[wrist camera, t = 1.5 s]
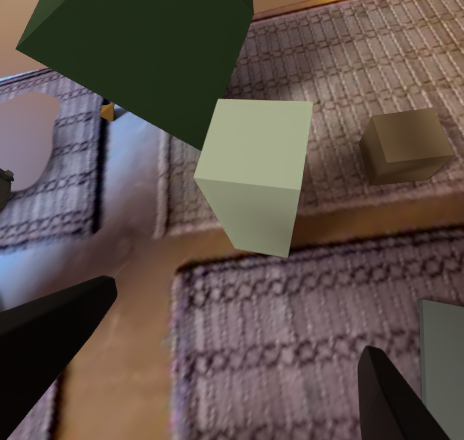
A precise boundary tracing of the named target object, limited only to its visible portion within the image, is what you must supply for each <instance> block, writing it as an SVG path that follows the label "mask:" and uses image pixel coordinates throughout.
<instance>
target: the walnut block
mask: <svg viewBox="0 0 464 440" xmlns="http://www.w3.org/2000/svg"><path fill="white" fill-rule="evenodd" d="M359 147H360V150H361V154H362V158H363V161H364V165H365V168H366V172H367V175H368V179H369V183H370V186H374V185H383V184H393V183H403V182H412V181H422V180H428V179H429V178H430V177H431V176H432V175H433V174H434V173H435V172H436V171H437V170H439V169H440V168H441V167H442V166H443V165H444V164H445V163H446V162H447V161H448V160H450V159H451V158H452V157H453V156H454V152H453V150H452V148H451V146H450V144H449V141H448V139H447V137H446V135H445V133H444V130H443V128H442V126H441V124H440V122H439V119H438V117H437V115H436V113H435V111H434V108H426V109H419V110H412V111H405V112H398V113H391V114H384V115H377V116H372V117H371V119H370V122H369V124H368V126H367V128H366V130H365V132H364V134H363V136H362V138H361V140H360V142H359Z"/></svg>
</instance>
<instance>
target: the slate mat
mask: <svg viewBox="0 0 464 440" xmlns="http://www.w3.org/2000/svg"><path fill="white" fill-rule="evenodd" d="M419 325H420V355H421V386H422V403H423V404H424V405H425V406H426V408H427V409H428V410H429V412H430V413H431V414H432V416H433V417H434V418H435V420H436V421H437V422H438V424H439V425H440V426H441V427H442V429H443V430H444V431H445V433H446V434H447V435H448V437H449V438H450V439H451V440H464V307H460V306H455V305H450V304H445V303H440V302H434V301H429V300H424V299H421V300H419Z"/></svg>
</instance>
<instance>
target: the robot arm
mask: <svg viewBox="0 0 464 440" xmlns="http://www.w3.org/2000/svg"><path fill="white" fill-rule="evenodd" d="M116 298H117V288H116V284H115V279H114V278H113V277H110V276H106V275H102V276H99V277H97V278H94V279H91V280H88V281H86V282H83V283H80V284H77V285H75V286H72V287H69V288H67V289H64V290H61V291H58V292H56V293H53V294H50V295H47V296H45V297H42V298H39V299H37V300H34V301H31V302H28V303H26V304H23V305H20V306H17V307H15V308H12V309H9V310H7V311H4V312H1V313H0V440H7V439H8V437H9V436H10V435H11V434H12V432H13V431H14V430H15V429H16V428H17V426H18V425H19V424H20V423H21V421H22V420H23V419H24V418H25V416H26V415H27V414H28V413H29V412H30V410H31V409H32V408H33V407H34V405H35V404H36V403H37V402H38V400H39V399H40V398H41V397H42V396H43V394H44V393H45V392H46V391H47V389H48V388H49V387H50V386H51V384H52V383H53V382H54V381H55V380H56V378H57V377H58V376H59V375H60V373H61V372H62V371H63V370H64V369H65V367H66V366H67V365H68V364H69V362H70V361H71V360H72V359H73V357H74V356H75V355H76V354H77V353H78V351H79V350H80V349H81V348H82V346H83V345H84V344H85V343H86V341H87V340H88V339H89V338H90V336H91V335H92V334H93V332H94V331H95V329H96V328H97V327H98V325H99V324H100V322H101V321H102V319H103V318H104V316H105V315H106V313H107V312H108V310H109V309H110V307H111V306H112V304H113V303H114V302H115V300H116ZM358 391H359V411H360V428H361V435H362V440H451V439H450V438H449V437H448V435H447V434H446V433H445V431H444V430H443V429H442V427H441V426H440V425H439V424H438V422H437V421H436V420H435V418H434V417H433V416H432V414H431V413H430V412H429V410H428V409H427V408H426V406H425V405H424V404H423V403H422V401H421V400H420V399H419V397H418V396H417V395H416V393H415V392H414V391H413V389H412V388H411V387H410V385H409V384H408V383H407V381H406V380H405V379H404V378H403V376H402V375H401V374H400V372H399V371H398V370H397V368H396V367H395V366H394V364H393V363H392V362H391V360H390V359H389V358H388V357H387V355H386V354H385V353H384V351H383V350H381V349H380V348H376V347H372V346H365V348H364V350H363V353H362V355H361V357H360V360H359V363H358Z"/></svg>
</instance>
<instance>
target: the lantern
mask: <svg viewBox="0 0 464 440" xmlns="http://www.w3.org/2000/svg"><path fill="white" fill-rule="evenodd" d="M13 175H14V174H13V173H12V172H11V171H9V170H7V171H4V170H2V169H0V211H1V209H2V208H3V207H4V206H5V204H6V202H7V199H8V197H9V195H10V191H11V181H14V178H13Z"/></svg>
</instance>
